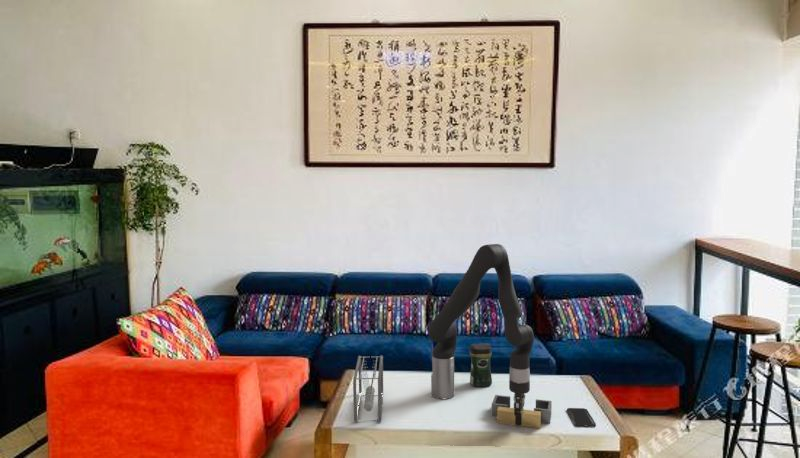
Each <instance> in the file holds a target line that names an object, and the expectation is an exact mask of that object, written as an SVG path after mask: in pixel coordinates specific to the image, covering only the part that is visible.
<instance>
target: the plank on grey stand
mask: <svg viewBox="0 0 800 458" xmlns="http://www.w3.org/2000/svg"><path fill="white" fill-rule="evenodd" d="M552 402H553V401H552V400H546V399H537V398H536V399H535V407H534V408H533V411H540V412H541V424H542V423H543V424H544V423H545V424H551V420H552V409H553V408H552V404H553V403H552ZM498 406H499V407H507V408H511V396H510V395H499V394H495V395H494V397H493V400H492V402H491V417H494V418H497V409H498Z"/></svg>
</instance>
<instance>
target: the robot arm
mask: <svg viewBox="0 0 800 458" xmlns="http://www.w3.org/2000/svg"><path fill="white" fill-rule="evenodd" d="M507 252H508V251H507V249H506V248H505V246H503V245H502V244H500V243H499V244H498V243H492V244H484V245H482V246H480V247H479V248H478V249H477V251H476V253H475V254H474V256H473V259H472V261H471V262H470V265H469V266H468V269H467V270H466V272H465V273H464V275H463V277H462V278H461V280H460V281H459V283H458V284H457V285H456V287H455V288H454V290H453V291H452V293H451V295H450V297H449V298H448V299H447V301H446V302H445V304H444V305H443V307H442V308H441V310H440V311H439V313H438V314H437V315H436V317H434V319H433V320H432V321H431V322H430V324H429V326H428V337H429V339H430V340H431V341H432V342H435V343H437V344H436V345H435V346H434V347H433V348H432V358H431V359H432V373H431V375H430V379H431V380H430V383H431V385H430V388H431V395H432V396H431V397H433V396H435V397H434V398H436V397H438V398H437V399H439V398H449V399H452V398H453V397H454V396H455V352H456V349H457V337H458V336H457V325H456V322H455V321H457V320H458V319H459V318H461V316H463V315H464V314H465V313H466V312H467V311H468V310H469V309H470V308H471V307H472V306H473V304H474V303H475V301H476V300H477V299H478V297H479V295H480V291H481V290H480V289H481V281H482V279H483V278H484V277H485V275H487V273H488V271H490V270H491V269H494V271H495V273H496V276H497V280H498V293H497V297H498V303H499V308H500V310H501V314H502V315H503V321H504V322H503V323H504V335H505V338H506V341H507V342H508V343H509V345H510V346H512V347H515V349H512V351H511V352H510V357H509V358H510V359H509V371H508V372H509V377H508V378H509V380H508V381H509V382H508V383H509V384H508V385H509V387H508V388H509V391H510V392H511V393H513V394H514V395H513V408H514V416H515V424H516V425H515V426H518V425H521V424H522V410H523V409H524V407H525V400H526V394H528V393H529V392H530V389H531V388H530V386H531V385H530V384H531V382H530V381H531V380H530V379H531V372H530V356H531V352H532V348H533V345H534V340H535V336H534V330H533V328H532V327H531V326H530V325H528V324H521V325H519V323H518V322H519V319H521V318H522V317H523V311H522V309H521V306H520V303H519V300H518V297H517V294H516V290H515V286H514V281H513V276H512V270H511V266H510V260H509V259H510V258H509V255H508V253H507ZM451 397H452V398H451ZM524 410H525V409H524Z"/></svg>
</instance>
